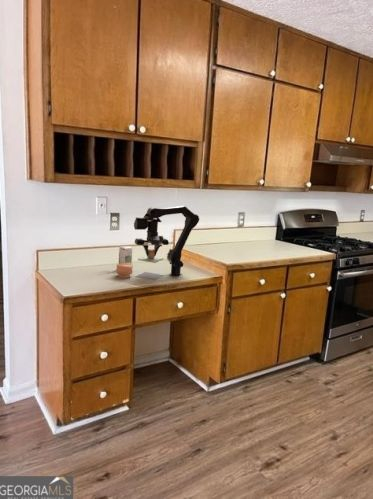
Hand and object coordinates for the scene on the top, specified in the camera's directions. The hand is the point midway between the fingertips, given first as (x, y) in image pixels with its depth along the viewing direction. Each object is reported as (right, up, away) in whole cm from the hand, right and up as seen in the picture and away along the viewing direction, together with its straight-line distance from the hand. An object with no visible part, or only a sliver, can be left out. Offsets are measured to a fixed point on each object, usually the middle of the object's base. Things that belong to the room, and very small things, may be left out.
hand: (151, 256), depth 217 cm
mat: (-1, -12, +3) cm, 12 cm away
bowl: (-15, -12, -1) cm, 19 cm away
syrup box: (-17, -9, +14) cm, 24 cm away
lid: (0, -2, 0) cm, 2 cm away
